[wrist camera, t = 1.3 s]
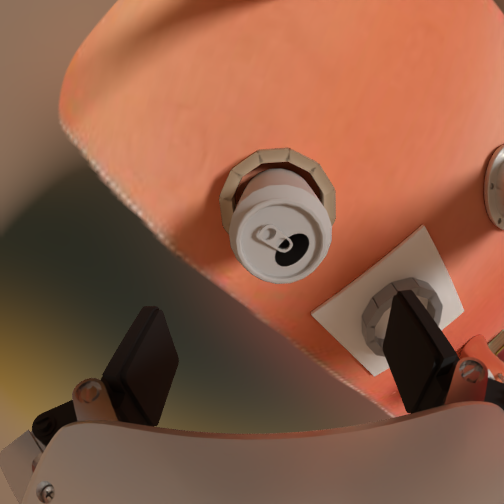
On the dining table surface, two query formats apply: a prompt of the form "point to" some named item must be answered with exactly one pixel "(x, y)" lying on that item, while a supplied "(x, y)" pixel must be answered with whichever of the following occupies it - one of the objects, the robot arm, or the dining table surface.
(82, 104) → the dining table surface
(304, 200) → the can
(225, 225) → the stand ring
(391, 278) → the holder
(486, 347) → the silver tumbler
